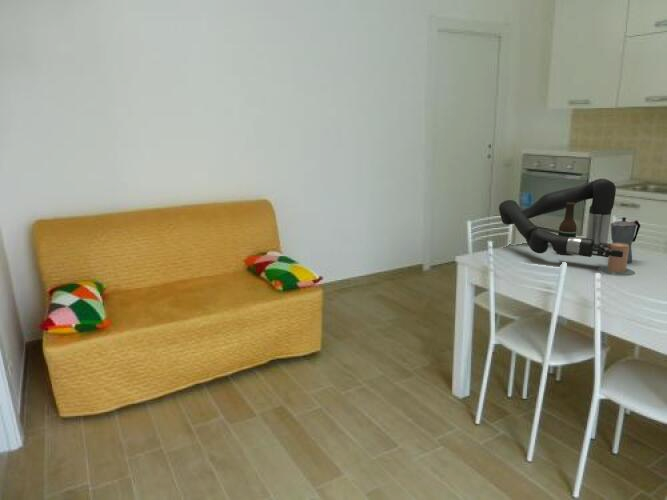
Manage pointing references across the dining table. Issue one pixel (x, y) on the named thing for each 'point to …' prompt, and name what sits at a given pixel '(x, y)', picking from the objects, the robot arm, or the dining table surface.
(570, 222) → the beer bottle
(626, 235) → the moka pot
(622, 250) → the cup
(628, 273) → the plate
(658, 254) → the dining table surface
